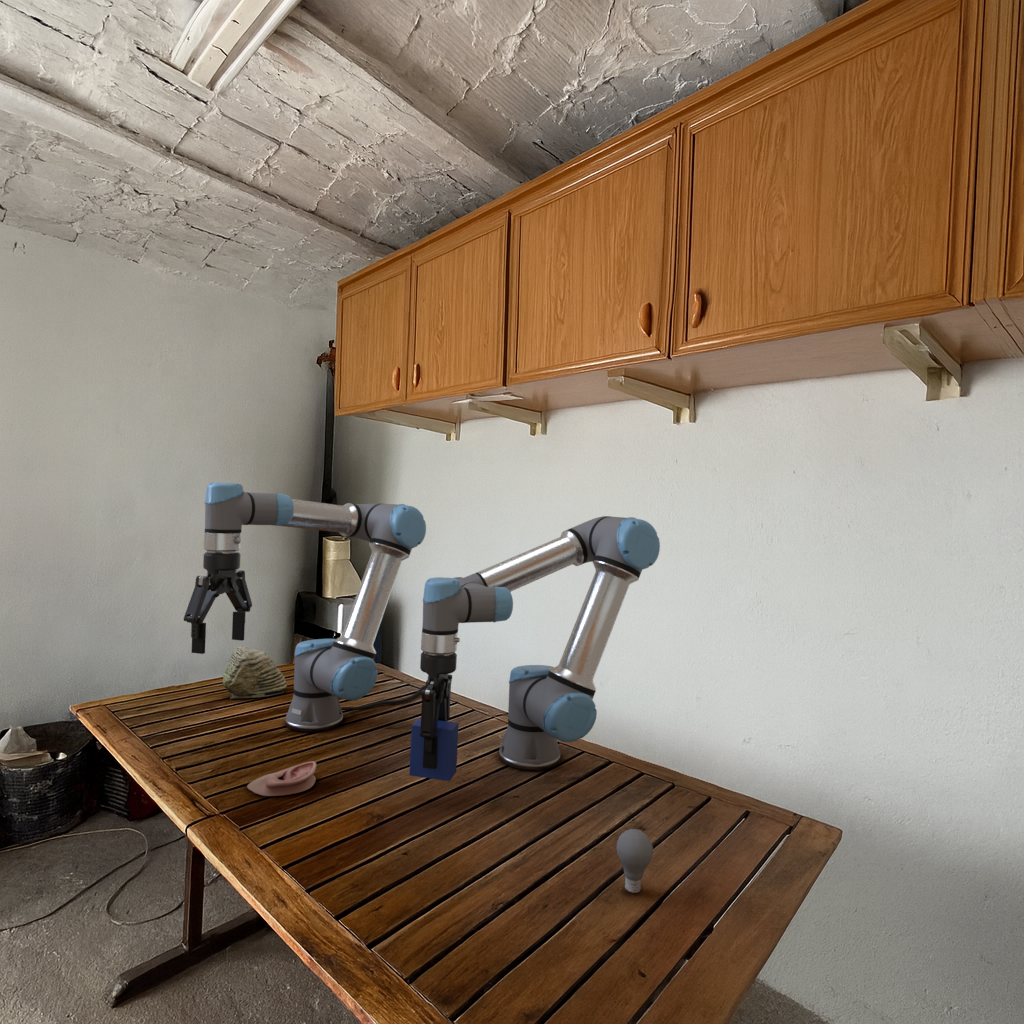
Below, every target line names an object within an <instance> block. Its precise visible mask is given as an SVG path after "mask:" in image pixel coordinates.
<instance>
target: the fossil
mask: <svg viewBox="0 0 1024 1024" xmlns="http://www.w3.org/2000/svg"><path fill="white" fill-rule="evenodd" d="M222 676H223V677H222V685H223V687H224V688H225V690H226V691H228V693H229V698H230V699H250V698H264V697H271V696H275V695H281V694H284V693H285V691H286V689H287V687H288V686H287V680H286V678H285V676H284V674H283V673H282V672H281V669H279V668H278V667H277V665H276V663H275V662H274V660H273V659H272V658H271V657H270V656H269V655H268V654H267V653H266V652H265V650H264V649H263V648H260V647H258V648H251V647H247V646H246V647H245V646H238V647H237V648H236V649H235V650H233V651H232V653H231V656H230V657H229V659H228V660H227V663H226V666H225V668H224V671H223V675H222Z"/></svg>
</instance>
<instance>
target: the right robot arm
mask: <svg viewBox="0 0 1024 1024" xmlns="http://www.w3.org/2000/svg"><path fill="white" fill-rule="evenodd" d="M660 550H661V542H660V538H659V537H658V532H657V530H656V528H655V527H654V526H653V525H652V524H651V523H650V522H648V520H647V521H646V520H645V519H641V518H636V517H632V516H629V517H621V516H609V515H602V516H598V517H594V518H592V519H589V520H587V521H584V522H581V523H580V524H577V525H575V526H573V527H570V528H568V529H566V530H563V531H562V532H561V533H560V536H559V537H557V538H554V539H552V540H549V541H548V542H545V543H543V544H541V545H538V546H536V547H534V548H531V549H529V550H526V551H524V552H521V553H519V554H517V555H515V556H512V557H510V558H507V559H505V560H503V561H500V562H498V563H496V564H494V565H491V566H489V567H486V568H484V569H480V570H479V571H476V572H475V573H472V574H469V575H467V576H464V577H462V576H455V577H441V576H439V577H437V576H436V577H430V578H428V579H427V580H426V581H425V583H424V588H423V596H422V626H421V627H422V628H421V639H420V650H421V651H422V652H421V653H420V661H419V663H420V664H419V669H420V670H421V672H422V673H425V674H427V679H426V681H425V685H426V686H425V685H424V686H425V689H422V691H421V692H420V695H421V712H420V713H421V714H420V718H421V733H420V736H421V737H424V751H423V768H431V769H436V765H437V744H438V736H436V733H437V724H438V720H440V721H449V720H450V717H451V716H450V714H451V713H450V712H451V691H452V681H453V673H454V672H455V671H457V663H458V662H457V659H458V655H457V653H456V651H457V650H458V643H460V642H461V639H460V638H459V637H458V635H459V624H468V623H498V622H505V621H507V620H509V619H510V617H511V616H512V614H513V610H514V599H513V595H512V592H513V591H515V590H517V589H520V588H522V587H524V586H527V585H529V584H532V583H533V582H536V581H538V580H540V579H543V578H545V577H547V576H549V575H552V574H554V573H556V572H558V571H561V570H563V569H565V568H567V567H570V566H572V565H573V566H575V567H579V566H582V565H584V564H586V563H590V562H591V563H592V565H593V567H594V569H595V572H594V575H593V577H592V580H591V582H590V585H589V587H588V590H587V592H586V595H585V597H584V600H583V603H582V605H581V607H580V610H579V612H578V615H577V618H576V620H575V623H574V625H573V628H572V631H571V632H570V635H569V638H568V640H567V642H566V646H565V648H564V650H563V652H562V655H561V658H560V660H559V663H558V664H557V665H556V666H551V665H546V664H526V665H518V666H515V667H513V668H512V669H511V670H510V673H509V674H510V675H509V680H508V685H509V686H508V709H507V727H506V730H505V733H504V735H503V738H502V740H501V743H500V746H499V751H498V752H499V753H498V758H499V759H500V761H501V762H502V763H503V764H505V765H506V766H507V767H511V768H514V769H517V770H523V771H544V770H549V769H552V768H554V767H556V766H557V765H559V764H560V761H561V750H560V747H559V744H558V741H560V742H563V743H573V742H577V741H578V740H580V739H583V738H585V737H586V736H587V735H588V734H589V732H591V730H592V729H593V727H594V725H595V723H596V720H597V715H598V712H597V711H598V710H597V709H596V707H597V706H596V703H595V702H594V697H595V694H596V692H597V687H596V685H595V682H594V679H595V676H596V673H597V671H598V668H599V666H600V662H601V660H602V658H603V655H604V652H605V650H606V647H607V645H608V643H609V640H610V637H611V634H612V631H613V628H614V626H615V623H616V621H617V618H618V615H619V613H620V611H621V608H622V606H623V603H624V600H625V598H626V595H627V593H628V590H629V588H630V585H631V584H634V583H635V582H638V581H639V579H640V577H641V574H642V572H643V570H645V569H648V568H650V567H651V566H653V565H654V564H655V563H656V562H657V560H658V557H659V555H660Z"/></svg>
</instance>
